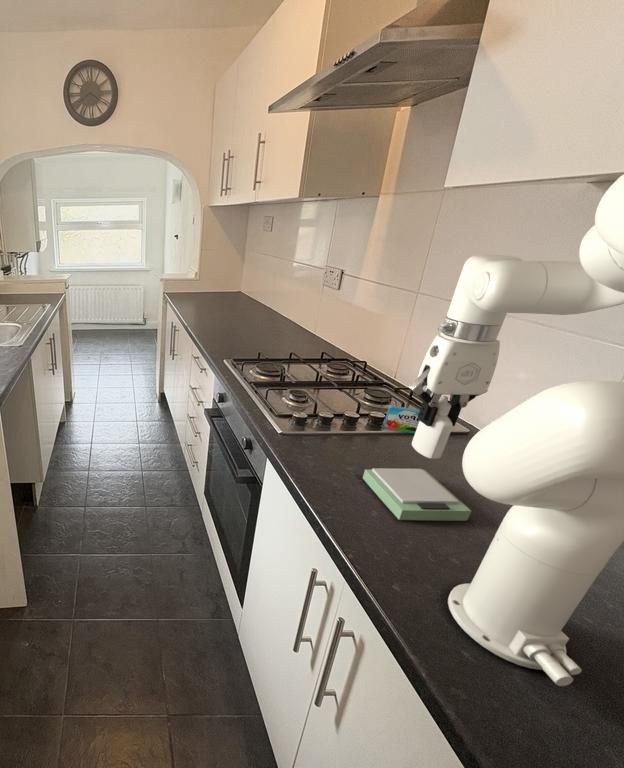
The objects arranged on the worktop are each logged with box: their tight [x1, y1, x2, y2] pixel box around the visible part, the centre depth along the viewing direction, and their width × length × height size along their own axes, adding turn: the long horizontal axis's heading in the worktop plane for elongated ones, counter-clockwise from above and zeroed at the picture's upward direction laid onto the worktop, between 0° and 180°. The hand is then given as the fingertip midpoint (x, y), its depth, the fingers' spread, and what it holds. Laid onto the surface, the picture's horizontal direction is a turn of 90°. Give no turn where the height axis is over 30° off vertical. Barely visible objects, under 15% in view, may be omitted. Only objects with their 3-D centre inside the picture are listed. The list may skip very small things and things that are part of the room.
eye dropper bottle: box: [411, 395, 454, 460], centre depth 79 cm, size 4×6×12 cm
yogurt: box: [383, 404, 420, 435], centre depth 108 cm, size 12×2×6 cm, turn 63°
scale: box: [362, 467, 472, 522], centre depth 85 cm, size 13×13×3 cm
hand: (435, 422), depth 79 cm, fingers closed on eye dropper bottle, 3 cm apart
